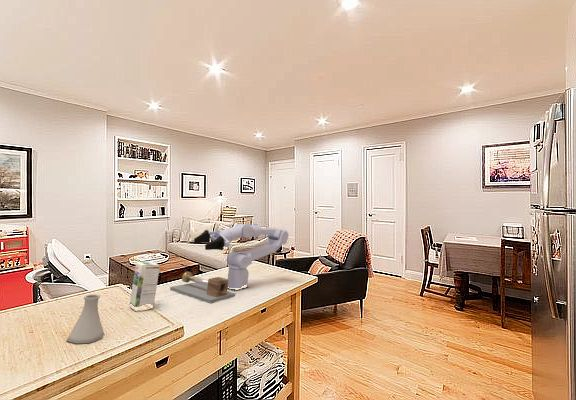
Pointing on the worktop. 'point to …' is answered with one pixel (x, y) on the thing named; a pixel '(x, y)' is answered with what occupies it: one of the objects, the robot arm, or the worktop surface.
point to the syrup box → (144, 283)
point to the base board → (199, 292)
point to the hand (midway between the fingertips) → (200, 244)
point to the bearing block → (217, 287)
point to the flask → (88, 322)
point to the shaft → (193, 278)
